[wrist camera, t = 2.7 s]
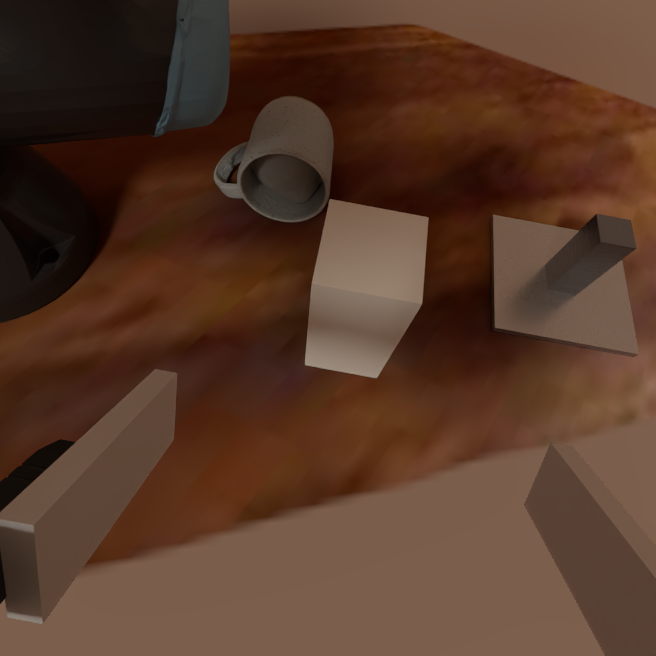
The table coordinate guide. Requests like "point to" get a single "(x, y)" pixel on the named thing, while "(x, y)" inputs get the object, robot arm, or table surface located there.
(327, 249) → the beige square prism
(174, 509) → the table surface
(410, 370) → the table surface
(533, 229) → the square base plate
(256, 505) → the table surface
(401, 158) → the table surface
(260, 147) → the ceramic mug
